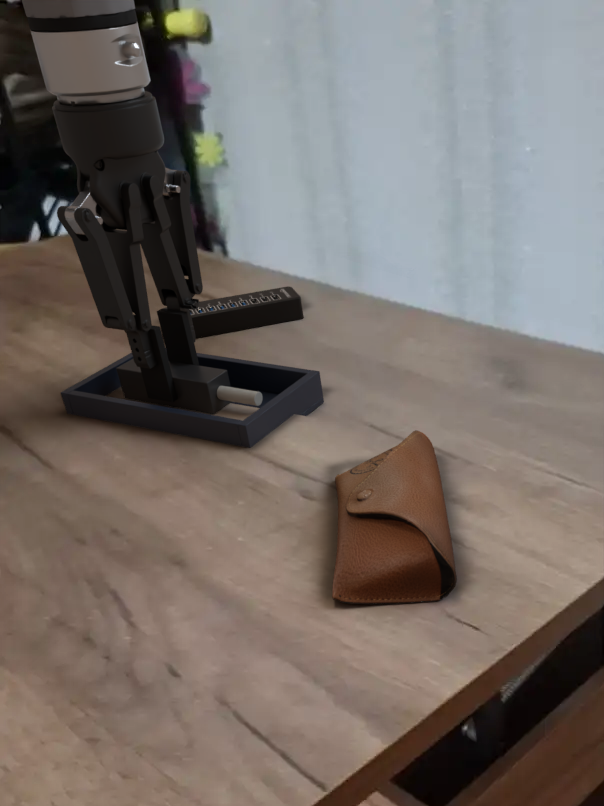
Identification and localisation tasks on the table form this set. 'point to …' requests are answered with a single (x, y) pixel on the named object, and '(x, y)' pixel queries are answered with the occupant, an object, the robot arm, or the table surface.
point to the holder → (276, 383)
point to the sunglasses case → (393, 529)
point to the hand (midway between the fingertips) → (175, 389)
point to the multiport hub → (246, 311)
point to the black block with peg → (189, 388)
